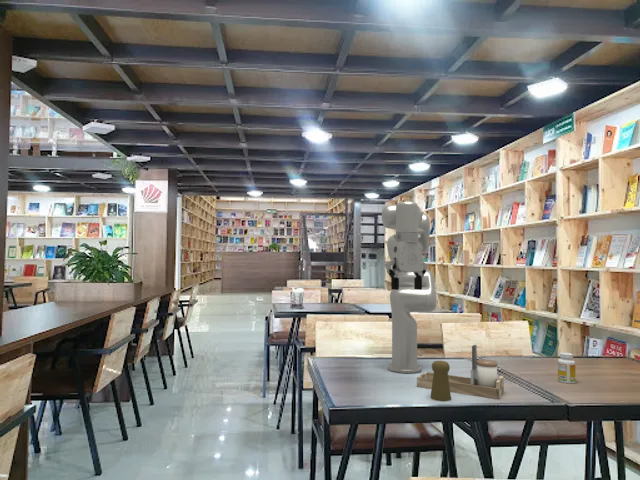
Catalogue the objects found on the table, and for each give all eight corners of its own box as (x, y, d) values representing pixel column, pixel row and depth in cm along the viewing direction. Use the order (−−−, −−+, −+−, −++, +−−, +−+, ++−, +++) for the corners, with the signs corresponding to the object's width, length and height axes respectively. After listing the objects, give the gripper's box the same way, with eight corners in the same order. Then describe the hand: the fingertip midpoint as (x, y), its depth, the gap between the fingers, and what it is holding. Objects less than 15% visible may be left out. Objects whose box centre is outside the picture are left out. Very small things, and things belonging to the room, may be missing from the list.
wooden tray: (425, 380, 154) (425, 365, 154) (503, 392, 141) (503, 376, 141) (416, 386, 146) (417, 371, 147) (499, 399, 133) (498, 382, 134)
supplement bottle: (573, 380, 157) (573, 352, 157) (577, 384, 152) (576, 355, 152) (556, 379, 159) (556, 351, 159) (559, 382, 154) (559, 354, 154)
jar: (478, 389, 144) (478, 358, 144) (499, 392, 140) (498, 360, 141) (474, 394, 138) (474, 361, 139) (495, 397, 135) (495, 364, 136)
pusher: (475, 387, 145) (475, 343, 145) (478, 388, 144) (477, 344, 145) (470, 393, 138) (470, 347, 139) (473, 393, 138) (473, 347, 139)
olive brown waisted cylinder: (427, 395, 137) (427, 359, 137) (446, 395, 137) (446, 359, 138) (434, 401, 131) (434, 363, 131) (454, 401, 131) (454, 363, 132)
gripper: (393, 236, 142) (392, 290, 141) (434, 239, 150) (434, 289, 149) (379, 238, 149) (379, 289, 148) (419, 240, 157) (419, 288, 156)
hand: (406, 289), depth 149 cm, fingers open, 9 cm apart
